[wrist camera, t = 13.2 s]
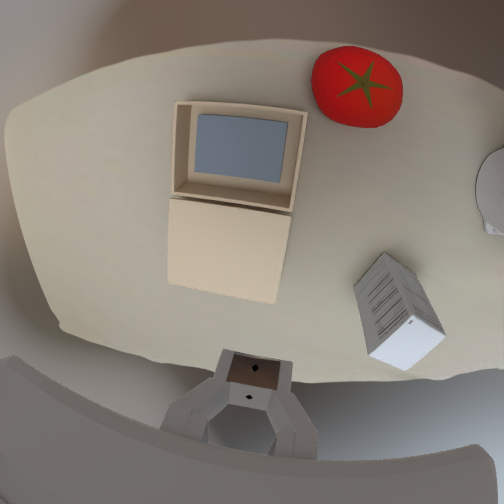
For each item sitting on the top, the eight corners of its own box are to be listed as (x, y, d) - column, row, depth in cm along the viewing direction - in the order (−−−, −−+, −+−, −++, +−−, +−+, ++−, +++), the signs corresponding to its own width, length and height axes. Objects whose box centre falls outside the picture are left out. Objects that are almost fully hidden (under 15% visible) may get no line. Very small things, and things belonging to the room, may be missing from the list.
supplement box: (352, 287, 49) (364, 355, 35) (383, 250, 45) (411, 313, 30) (386, 307, 50) (405, 373, 36) (417, 274, 46) (448, 337, 31)
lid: (275, 304, 43) (275, 302, 44) (291, 216, 38) (291, 215, 39) (167, 282, 45) (169, 281, 46) (169, 198, 40) (171, 197, 40)
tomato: (310, 50, 32) (313, 31, 23) (390, 63, 30) (415, 51, 21) (308, 120, 37) (311, 122, 28) (387, 131, 35) (412, 138, 26)
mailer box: (306, 112, 37) (307, 112, 31) (293, 199, 44) (292, 212, 38) (190, 101, 38) (174, 101, 33) (185, 183, 45) (171, 194, 40)
